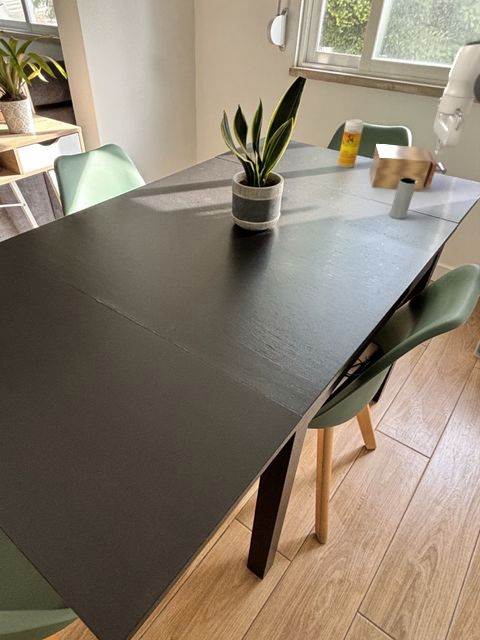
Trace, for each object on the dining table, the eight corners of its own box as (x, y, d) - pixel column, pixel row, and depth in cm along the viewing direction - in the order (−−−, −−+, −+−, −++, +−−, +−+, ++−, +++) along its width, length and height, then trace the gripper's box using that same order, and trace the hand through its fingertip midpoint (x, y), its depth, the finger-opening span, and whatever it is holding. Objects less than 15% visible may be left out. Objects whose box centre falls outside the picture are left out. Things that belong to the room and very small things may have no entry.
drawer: (435, 176, 148) (443, 152, 143) (442, 190, 139) (452, 165, 133) (379, 171, 151) (385, 148, 146) (382, 185, 141) (389, 160, 136)
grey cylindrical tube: (391, 211, 127) (401, 176, 121) (407, 215, 126) (418, 179, 119) (387, 217, 124) (398, 181, 118) (403, 220, 123) (415, 184, 116)
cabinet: (414, 176, 150) (424, 147, 144) (421, 191, 140) (431, 161, 133) (369, 172, 153) (376, 144, 146) (372, 187, 142) (379, 157, 136)
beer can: (337, 167, 156) (346, 122, 146) (337, 162, 161) (346, 118, 151) (354, 169, 155) (364, 123, 145) (354, 163, 160) (364, 119, 150)
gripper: (474, 114, 121) (455, 165, 130) (459, 99, 136) (442, 145, 145) (451, 112, 122) (433, 163, 131) (438, 97, 137) (423, 143, 146)
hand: (438, 153), depth 138 cm, fingers closed
